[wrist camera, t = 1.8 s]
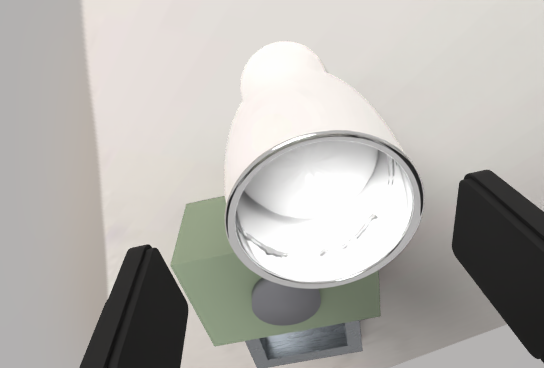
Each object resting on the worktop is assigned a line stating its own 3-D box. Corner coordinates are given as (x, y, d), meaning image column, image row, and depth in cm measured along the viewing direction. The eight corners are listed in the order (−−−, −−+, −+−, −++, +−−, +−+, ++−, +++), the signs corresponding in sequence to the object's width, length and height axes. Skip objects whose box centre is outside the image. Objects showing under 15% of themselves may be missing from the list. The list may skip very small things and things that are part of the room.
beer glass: (300, 9, 21) (380, 71, 8) (349, 98, 24) (458, 239, 12) (213, 74, 23) (170, 204, 10) (270, 148, 26) (291, 316, 13)
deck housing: (348, 169, 28) (381, 234, 21) (357, 258, 33) (384, 331, 27) (186, 204, 28) (167, 276, 22) (222, 284, 34) (215, 361, 27)
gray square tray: (346, 256, 33) (355, 280, 30) (355, 326, 40) (362, 350, 37) (229, 279, 34) (228, 304, 31) (256, 344, 40) (257, 369, 38)
